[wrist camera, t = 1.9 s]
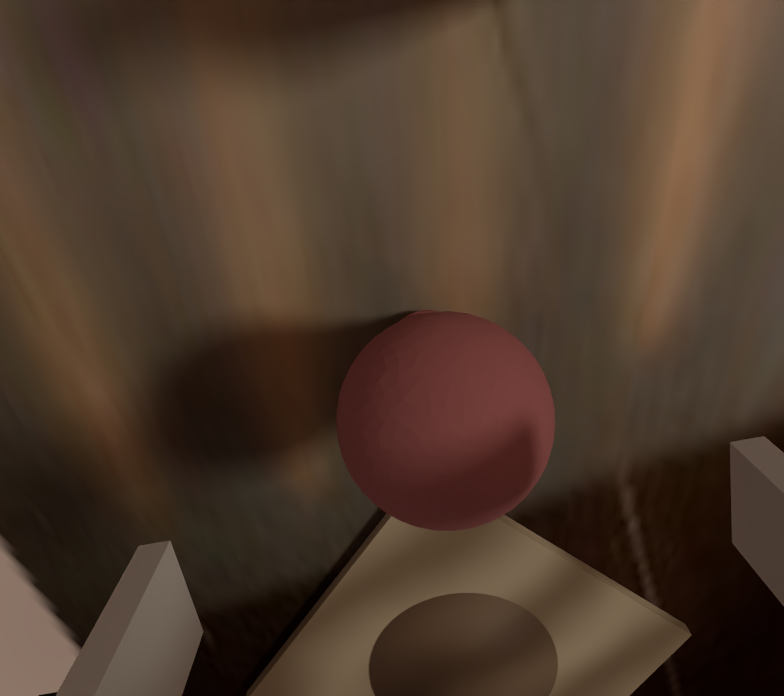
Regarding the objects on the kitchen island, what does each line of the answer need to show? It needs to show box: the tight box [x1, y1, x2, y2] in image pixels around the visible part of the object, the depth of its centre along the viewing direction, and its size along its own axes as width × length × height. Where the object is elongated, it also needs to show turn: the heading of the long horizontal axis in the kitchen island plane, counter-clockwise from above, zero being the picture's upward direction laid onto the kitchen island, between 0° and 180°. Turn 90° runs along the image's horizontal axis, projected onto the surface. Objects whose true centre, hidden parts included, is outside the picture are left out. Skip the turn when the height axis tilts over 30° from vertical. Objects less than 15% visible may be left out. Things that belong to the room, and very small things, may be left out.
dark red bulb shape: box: [336, 310, 555, 531], centre depth 24 cm, size 7×7×12 cm
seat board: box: [246, 513, 691, 696], centre depth 36 cm, size 17×17×1 cm
